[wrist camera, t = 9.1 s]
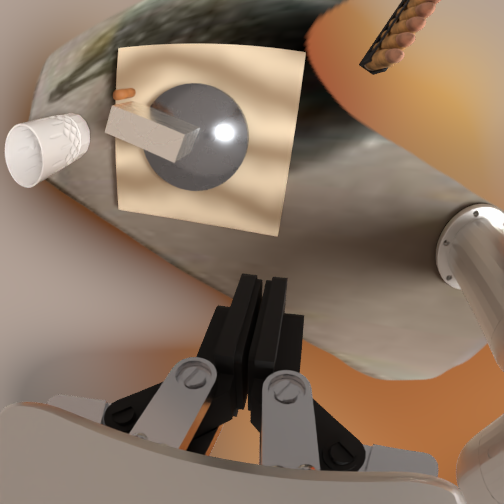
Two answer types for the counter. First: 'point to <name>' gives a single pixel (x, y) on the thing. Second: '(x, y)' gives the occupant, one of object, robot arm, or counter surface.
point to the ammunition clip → (397, 35)
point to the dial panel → (257, 116)
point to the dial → (186, 134)
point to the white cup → (45, 147)
